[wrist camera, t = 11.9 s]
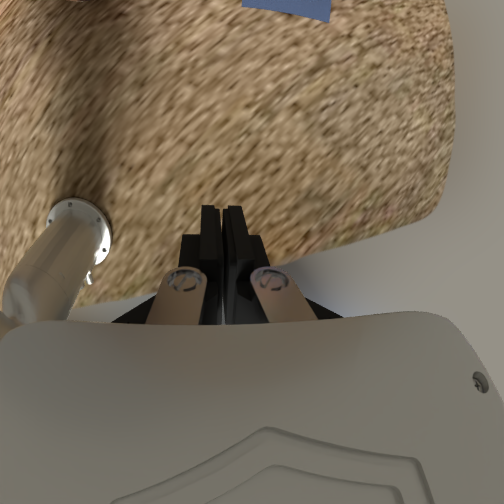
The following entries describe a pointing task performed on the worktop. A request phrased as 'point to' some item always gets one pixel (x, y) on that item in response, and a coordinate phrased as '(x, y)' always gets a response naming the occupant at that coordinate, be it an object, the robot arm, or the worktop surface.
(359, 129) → the worktop surface
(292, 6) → the blue square tile
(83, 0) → the wooden sphere
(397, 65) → the worktop surface
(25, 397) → the robot arm
